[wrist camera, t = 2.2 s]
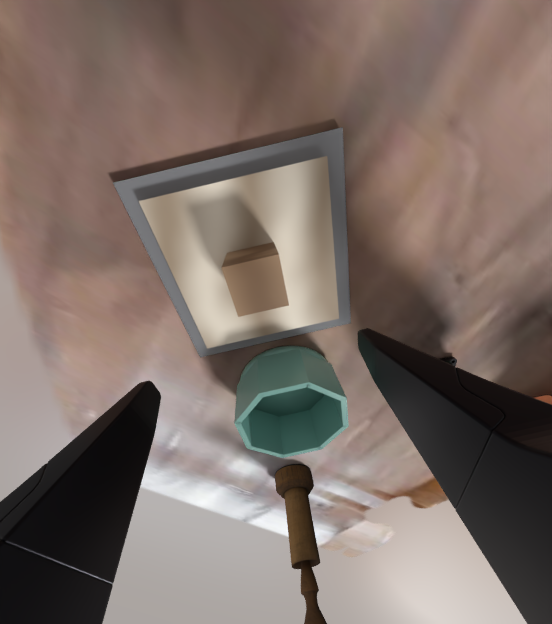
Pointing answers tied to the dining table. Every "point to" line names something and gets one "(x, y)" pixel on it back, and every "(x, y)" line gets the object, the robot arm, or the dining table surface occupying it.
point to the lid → (252, 251)
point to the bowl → (289, 402)
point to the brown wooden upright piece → (301, 532)
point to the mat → (233, 168)
